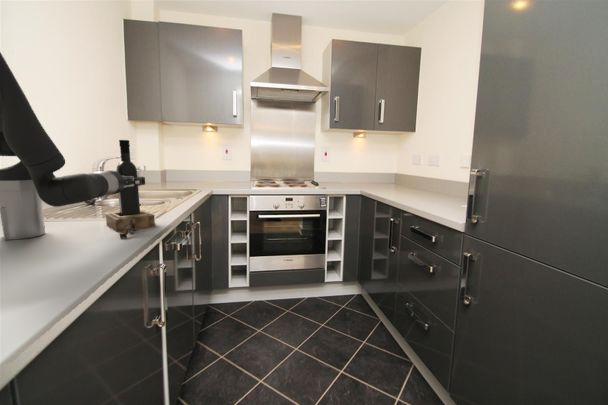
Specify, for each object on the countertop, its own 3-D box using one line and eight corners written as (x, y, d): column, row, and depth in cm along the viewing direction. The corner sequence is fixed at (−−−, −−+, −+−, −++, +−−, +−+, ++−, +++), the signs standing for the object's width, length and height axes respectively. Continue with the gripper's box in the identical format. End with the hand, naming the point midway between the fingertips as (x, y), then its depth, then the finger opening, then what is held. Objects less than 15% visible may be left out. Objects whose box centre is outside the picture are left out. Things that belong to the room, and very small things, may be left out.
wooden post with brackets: (139, 228, 97) (136, 217, 95) (129, 244, 91) (125, 233, 88) (133, 228, 97) (130, 217, 95) (123, 244, 90) (118, 233, 88)
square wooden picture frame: (116, 231, 96) (115, 218, 95) (106, 225, 104) (105, 212, 103) (154, 226, 104) (154, 213, 104) (143, 220, 112) (142, 208, 112)
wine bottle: (120, 225, 104) (113, 140, 100) (138, 223, 108) (132, 140, 103) (123, 228, 100) (115, 139, 96) (141, 226, 104) (135, 140, 99)
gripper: (128, 171, 88) (150, 169, 103) (77, 170, 86) (107, 168, 102) (130, 196, 89) (151, 190, 105) (79, 196, 87) (108, 189, 103)
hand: (129, 179), depth 103 cm, fingers open, 8 cm apart
